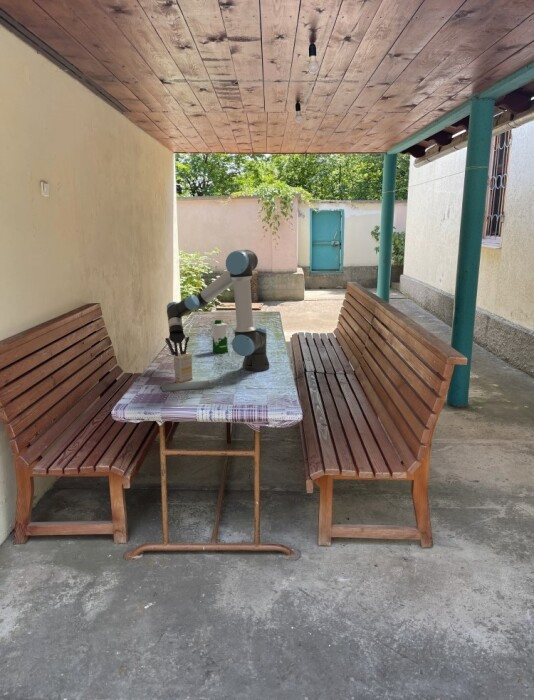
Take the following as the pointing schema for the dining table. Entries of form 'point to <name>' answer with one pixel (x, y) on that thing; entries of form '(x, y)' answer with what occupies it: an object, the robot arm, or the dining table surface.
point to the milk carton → (219, 337)
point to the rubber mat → (186, 386)
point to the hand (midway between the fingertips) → (180, 365)
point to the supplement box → (183, 368)
